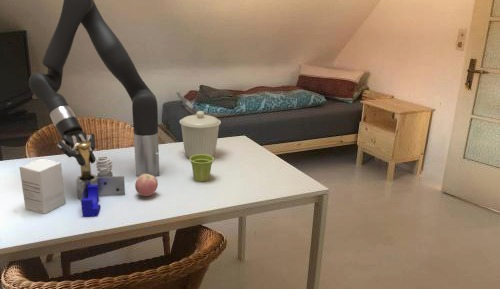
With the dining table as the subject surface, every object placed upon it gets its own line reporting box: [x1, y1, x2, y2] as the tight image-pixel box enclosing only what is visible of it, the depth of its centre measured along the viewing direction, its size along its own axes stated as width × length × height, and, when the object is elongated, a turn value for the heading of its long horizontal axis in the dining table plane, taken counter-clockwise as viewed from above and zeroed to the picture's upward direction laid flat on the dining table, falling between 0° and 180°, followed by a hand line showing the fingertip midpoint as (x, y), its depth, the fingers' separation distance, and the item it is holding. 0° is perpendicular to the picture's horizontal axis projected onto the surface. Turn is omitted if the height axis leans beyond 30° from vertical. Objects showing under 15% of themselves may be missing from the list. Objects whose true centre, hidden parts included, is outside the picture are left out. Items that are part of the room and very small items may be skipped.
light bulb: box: [95, 155, 113, 177], centre depth 159 cm, size 6×6×12 cm
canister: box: [179, 110, 222, 159], centre depth 192 cm, size 18×18×21 cm
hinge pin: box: [77, 140, 92, 178], centre depth 148 cm, size 5×5×12 cm
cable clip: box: [80, 185, 101, 218], centre depth 143 cm, size 12×4×6 cm, turn 9°
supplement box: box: [19, 158, 66, 215], centre depth 141 cm, size 9×9×15 cm
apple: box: [134, 174, 159, 197], centre depth 153 cm, size 8×8×8 cm
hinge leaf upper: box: [75, 173, 126, 197], centre depth 152 cm, size 16×7×7 cm, turn 102°
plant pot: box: [189, 154, 215, 183], centre depth 169 cm, size 9×9×9 cm
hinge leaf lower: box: [76, 181, 88, 207], centre depth 147 cm, size 7×16×7 cm, turn 12°
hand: (88, 163), depth 147 cm, fingers closed on hinge pin, 3 cm apart
